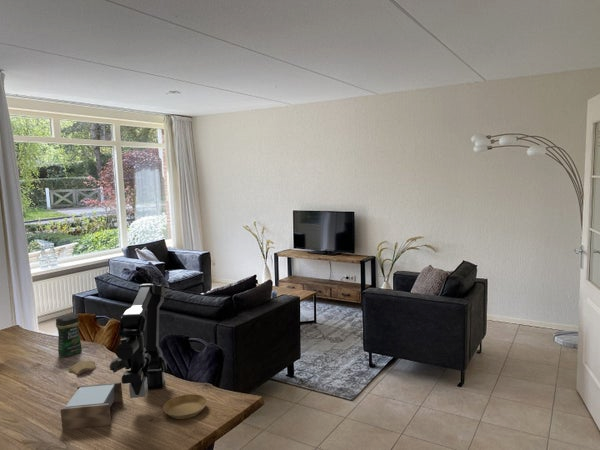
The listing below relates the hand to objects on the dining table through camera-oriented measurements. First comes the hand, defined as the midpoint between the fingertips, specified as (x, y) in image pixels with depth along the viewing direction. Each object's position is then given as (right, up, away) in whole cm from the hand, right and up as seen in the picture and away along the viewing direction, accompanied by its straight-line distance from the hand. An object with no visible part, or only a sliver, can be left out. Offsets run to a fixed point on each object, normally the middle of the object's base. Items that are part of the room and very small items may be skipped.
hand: (138, 391), depth 162 cm
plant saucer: (+17, -7, -1) cm, 18 cm away
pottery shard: (-36, -5, +36) cm, 51 cm away
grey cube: (0, -1, 0) cm, 1 cm away
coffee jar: (-51, -3, +56) cm, 76 cm away
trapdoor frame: (-15, -7, -1) cm, 17 cm away
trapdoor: (-16, -6, -1) cm, 17 cm away
